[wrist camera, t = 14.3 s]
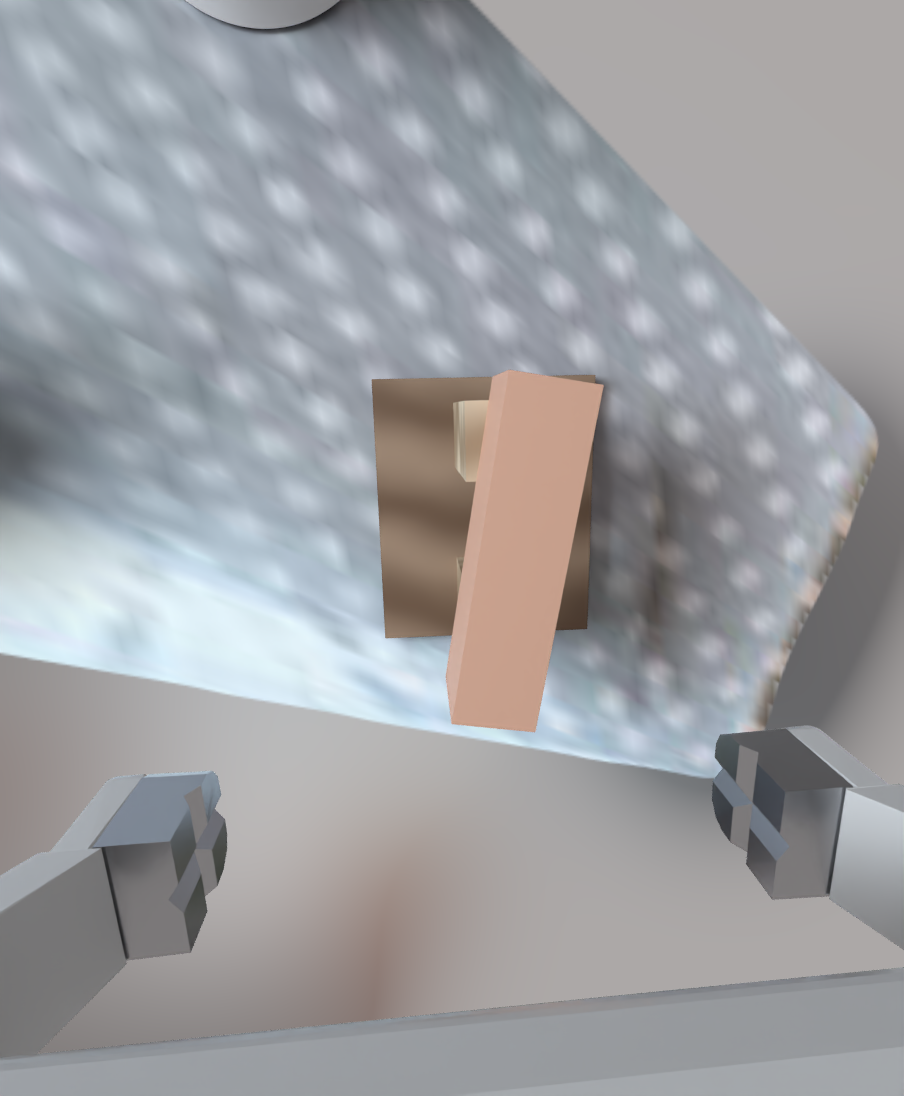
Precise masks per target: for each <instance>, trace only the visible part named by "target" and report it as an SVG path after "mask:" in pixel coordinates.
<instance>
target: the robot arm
mask: <svg viewBox="0 0 904 1096" xmlns="http://www.w3.org/2000/svg"><path fill="white" fill-rule="evenodd" d="M185 1H187V2H188V3H190V4H191V5H193V6H194V7H196V8H197V9H199V10H201V11H202V12H204V13H206V14H208V15H210V16H212V17H214V18H217V19H219V20H222V21H224V22H227V23H230V24H234V25H238V26H242V27H248V28H258V29H274V28H283V27H288V26H292V25H296V24H299V23H302V22H305V21H307V20H310V19H312V18H314V17H316V16H318V15H320V14H322V13H323V12H325V11H326V10H328V9H329V8H331V7H332V6H333V5H335V4H336V3H337V2H338V1H339V0H185ZM715 758H716V760H717V761H718V762H719V764H720V765H721V766H722V768H723V769H722V770H721V771H720V772H719V774H718V775H717V776H716V777H715V779H714V780H713V785H712V802H713V806H714V812H715V816H716V819H717V821H718V823H719V825H720V827H721V830H722V831H723V833H724V834H725V836H726V837H727V838H728V840H729V841H730V842H731V843H732V844H734V845H736V846H738V847H740V848H741V849H743V850H745V851H746V852H747V860H746V865H747V866H748V867H749V869H750V870H751V872H752V873H753V874H754V876H755V877H756V878H757V880H758V881H759V882H760V884H761V885H762V886H763V888H764V889H765V891H766V892H767V893H768V895H769V896H770V897H771V899H773V900H774V899H791V898H808V897H824V896H829V899H830V900H831V901H833V902H834V903H836V904H837V905H839V906H840V907H841V908H843V909H844V910H846V911H847V912H849V913H850V914H852V915H853V916H855V917H856V918H858V919H859V920H861V921H862V922H864V923H865V924H866V925H868V926H870V927H871V928H872V929H874V930H875V931H877V932H878V933H880V934H881V935H883V936H884V937H886V938H887V939H888V940H890V941H891V942H893V943H894V944H896V945H897V946H899V947H900V948H902V949H903V950H904V786H903V785H900V784H893V785H889V784H888V783H887V782H885V781H884V780H883V779H882V778H880V777H879V776H878V775H876V774H875V773H874V772H873V771H872V770H870V769H869V768H868V767H866V766H865V765H864V764H863V763H861V762H860V761H859V760H858V759H856V758H855V757H854V756H852V755H851V754H850V753H849V752H848V751H846V750H845V749H844V748H843V747H841V746H840V745H839V744H838V743H836V742H835V741H834V740H832V739H831V738H830V737H829V736H827V735H826V734H825V733H824V732H822V731H821V730H820V729H819V728H816V727H812V726H809V725H807V726H799V727H790V728H780V729H776V730H764V731H754V732H743V733H732V734H722V735H720V736H719V738H718V740H717V743H716V750H715ZM220 796H221V791H220V786H219V781H218V776H217V775H216V774H215V773H214V772H213V771H202V772H184V773H164V774H149V775H145V774H143V775H131V776H119V777H115V778H112V779H109V780H108V781H107V782H106V783H105V784H104V785H103V787H102V788H101V789H100V791H99V792H98V793H97V794H96V796H95V797H94V798H93V799H92V801H91V802H90V803H89V804H88V805H87V807H86V808H85V809H84V810H83V812H82V813H81V814H80V815H79V817H78V818H77V819H76V821H75V822H74V823H73V824H72V825H71V826H70V828H69V829H68V830H67V831H66V833H65V834H64V835H63V837H62V838H61V839H60V840H59V841H58V843H57V844H56V845H55V846H54V848H53V849H52V850H51V851H50V852H46V853H45V852H44V853H38V854H36V855H35V856H33V857H31V858H29V859H28V860H26V861H24V862H22V863H21V864H19V865H17V866H16V867H14V868H12V869H11V870H9V871H7V872H6V873H4V874H2V875H1V876H0V1096H904V967H902V968H892V969H883V970H872V971H862V972H853V973H842V974H832V975H821V976H811V977H801V978H791V979H780V980H770V981H760V982H750V983H740V984H729V985H719V986H709V987H699V988H688V989H678V990H669V991H659V992H648V993H637V994H628V995H618V996H608V997H598V998H589V999H578V1000H569V1001H558V1002H549V1003H539V1004H529V1005H520V1006H509V1007H499V1008H490V1009H480V1010H471V1011H460V1012H450V1013H440V1014H430V1015H420V1016H410V1017H402V1018H391V1019H381V1020H372V1021H362V1022H351V1023H341V1024H331V1025H321V1026H312V1027H302V1028H291V1029H281V1030H271V1031H261V1032H251V1033H241V1034H231V1035H221V1036H211V1037H201V1038H191V1039H181V1040H171V1041H161V1042H150V1043H140V1044H131V1045H120V1046H111V1047H102V1048H90V1049H81V1050H70V1051H60V1052H50V1053H40V1054H37V1053H38V1052H39V1051H40V1050H41V1049H42V1048H43V1047H44V1046H45V1045H46V1044H47V1043H48V1042H49V1041H50V1040H51V1039H52V1038H53V1037H54V1036H55V1035H56V1034H57V1033H58V1032H59V1031H60V1030H61V1029H62V1028H63V1027H64V1026H65V1025H66V1024H67V1023H68V1022H69V1021H70V1020H71V1019H72V1018H73V1017H74V1016H75V1015H76V1014H77V1013H78V1012H79V1011H80V1010H81V1009H82V1008H83V1007H84V1006H85V1005H86V1004H87V1003H88V1002H89V1001H90V1000H91V999H92V998H93V997H94V996H95V995H96V994H97V993H98V992H99V991H100V990H101V989H102V988H103V987H104V986H105V985H106V984H107V983H108V982H109V981H110V980H111V979H112V978H113V977H114V976H115V975H116V974H117V973H118V972H119V971H120V970H121V969H122V968H123V967H124V966H125V965H126V960H134V959H143V958H151V957H159V956H167V955H175V954H184V953H190V952H191V951H192V948H193V946H194V943H195V941H196V938H197V936H198V933H199V931H200V928H201V925H202V923H203V921H204V918H205V916H206V913H207V906H206V900H205V896H206V895H207V894H208V893H210V892H211V891H212V890H213V889H214V888H215V887H217V886H218V883H219V880H220V878H221V875H222V872H223V870H224V864H225V857H226V852H227V830H226V823H225V819H224V818H223V817H222V816H221V815H220V814H219V813H218V812H217V811H216V810H215V807H216V804H217V802H218V800H219V798H220Z"/></svg>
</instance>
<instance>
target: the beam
mask: <svg viewBox="0 0 904 1096" xmlns="http://www.w3.org/2000/svg"><path fill="white" fill-rule="evenodd" d="M603 386H604V385H601V384H594V383H588V382H582V381H576V380H569V379H563V378H557V377H551V376H545V375H538V374H532V373H526V372H520V371H513V370H507V371H505V372H503V373H500V374H498V375H495V376H493V377H492V383H491V389H490V396H489V402H488V408H487V415H486V421H485V428H484V434H483V440H482V447H481V453H480V460H479V466H478V472H477V479H476V485H475V492H474V498H473V504H472V511H471V517H470V524H469V530H468V536H467V543H466V549H465V556H464V562H463V568H462V575H461V581H460V588H459V594H458V600H457V607H456V613H455V620H454V626H453V632H452V639H451V645H450V652H449V658H448V664H447V671H446V683H447V691H448V699H449V707H450V715H451V723H452V724H457V725H467V726H477V727H487V728H497V729H508V730H518V731H528V732H535V731H536V726H537V720H538V715H539V710H540V705H541V700H542V695H543V690H544V685H545V680H546V675H547V670H548V665H549V660H550V655H551V650H552V645H553V639H554V634H555V629H556V624H557V619H558V614H559V609H560V604H561V599H562V594H563V589H564V584H565V579H566V574H567V569H568V564H569V558H570V553H571V548H572V543H573V538H574V533H575V528H576V523H577V518H578V513H579V508H580V503H581V498H582V493H583V488H584V483H585V478H586V472H587V467H588V462H589V457H590V452H591V447H592V442H593V437H594V432H595V427H596V422H597V417H598V412H599V407H600V402H601V397H602V391H603Z"/></svg>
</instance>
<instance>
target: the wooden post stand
mask: <svg viewBox="0 0 904 1096" xmlns="http://www.w3.org/2000/svg"><path fill="white" fill-rule="evenodd" d="M551 377H557V378H563V379H569V380H576V381H582V382H588V383H594V384H595V375H565V376H551ZM491 383H492V377H468V378H419V379H372V394H373V413H374V432H375V451H376V469H377V488H378V507H379V526H380V545H381V564H382V582H383V601H384V620H385V638H403V637H424V636H445V635H452V632H453V626H454V620H455V613H456V607H457V600H458V594H459V588H460V581H461V575H462V568H463V562H464V556H465V549H466V543H467V536H468V530H469V524H470V517H471V511H472V504H473V498H474V492H475V485H476V479H477V472H478V466H479V460H480V453H481V447H482V440H483V434H484V428H485V421H486V415H487V408H488V402H489V396H490V389H491ZM592 465H593V442H592V447H591V452H590V457H589V462H588V467H587V472H586V478H585V483H584V488H583V493H582V498H581V503H580V508H579V513H578V518H577V523H576V528H575V533H574V538H573V543H572V548H571V553H570V558H569V564H568V569H567V574H566V579H565V584H564V589H563V594H562V599H561V604H560V609H559V614H558V619H557V624H556V629H555V630H573V629H587V617H588V587H589V556H590V526H591V496H592Z"/></svg>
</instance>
